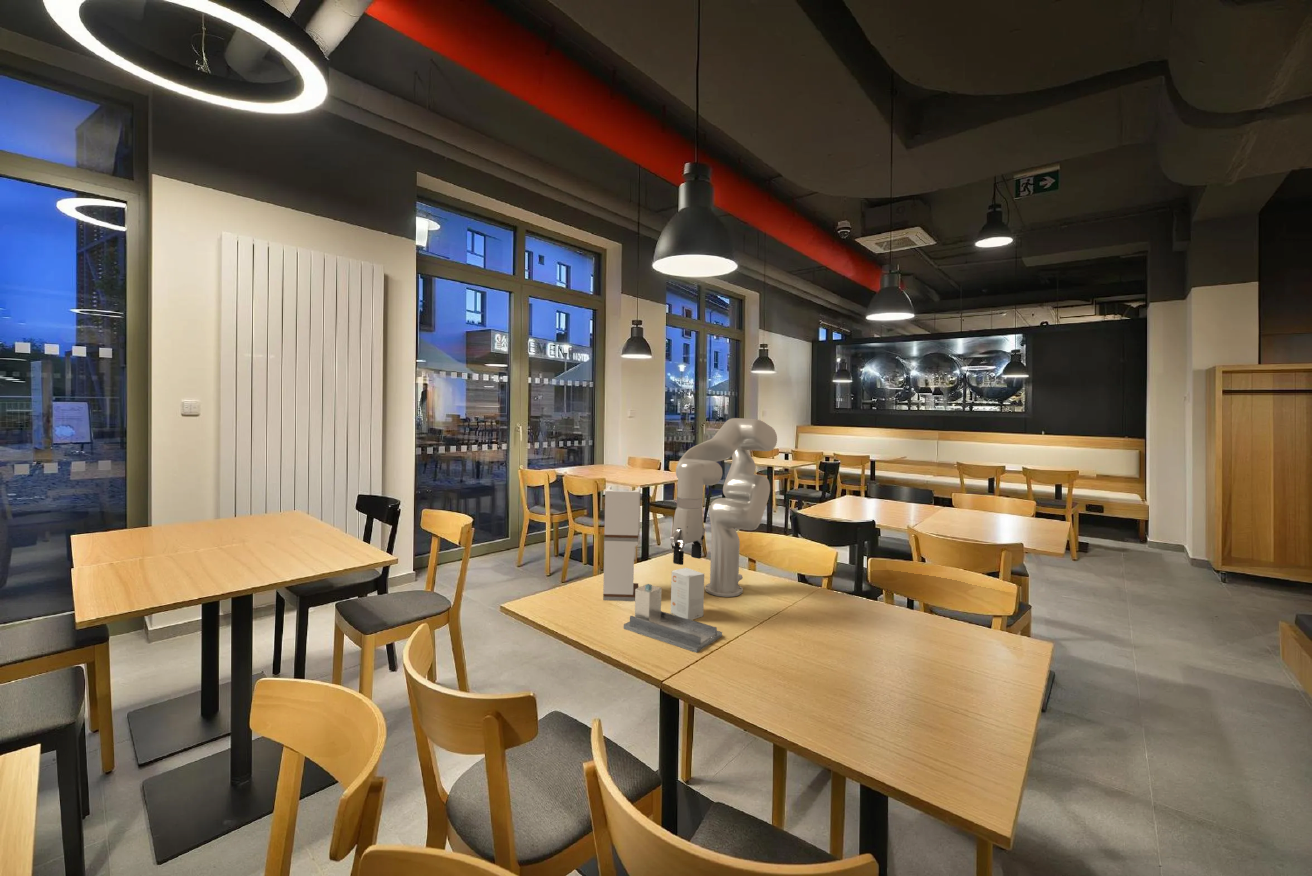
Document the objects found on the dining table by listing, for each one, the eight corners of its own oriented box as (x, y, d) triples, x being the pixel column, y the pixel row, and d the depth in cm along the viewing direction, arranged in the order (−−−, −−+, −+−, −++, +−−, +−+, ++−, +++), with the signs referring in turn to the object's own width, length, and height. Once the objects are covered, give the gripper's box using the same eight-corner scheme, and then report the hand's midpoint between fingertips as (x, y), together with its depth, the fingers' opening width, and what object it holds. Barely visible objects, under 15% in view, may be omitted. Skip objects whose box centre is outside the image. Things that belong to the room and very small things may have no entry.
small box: (703, 616, 166) (705, 573, 166) (688, 621, 162) (689, 577, 162) (685, 608, 173) (686, 567, 172) (669, 613, 169) (670, 570, 168)
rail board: (651, 615, 167) (652, 577, 166) (721, 636, 152) (723, 594, 152) (623, 628, 156) (624, 588, 155) (696, 652, 142) (697, 608, 141)
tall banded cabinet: (636, 601, 178) (639, 492, 176) (603, 600, 178) (605, 491, 176) (638, 589, 189) (640, 486, 187) (606, 588, 190) (608, 485, 187)
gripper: (694, 499, 174) (692, 553, 175) (662, 505, 161) (660, 564, 161) (715, 502, 170) (713, 557, 171) (684, 508, 156) (681, 569, 157)
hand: (687, 560), depth 166 cm, fingers open, 9 cm apart
